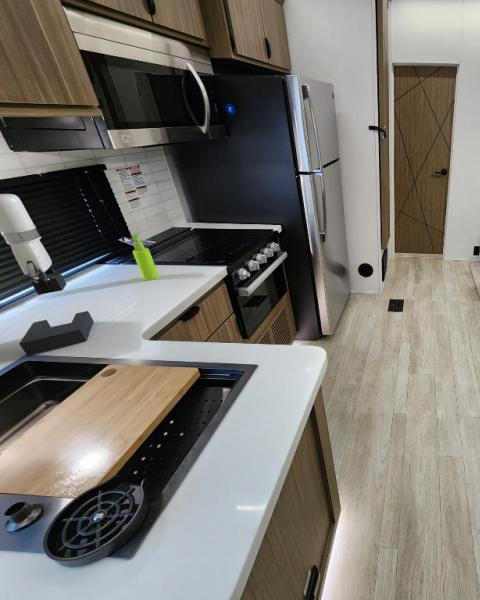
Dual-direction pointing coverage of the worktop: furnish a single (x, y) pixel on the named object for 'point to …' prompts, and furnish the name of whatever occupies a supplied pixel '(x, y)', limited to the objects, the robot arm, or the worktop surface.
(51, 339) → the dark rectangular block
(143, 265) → the soap dispenser
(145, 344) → the worktop surface
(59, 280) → the dark grey squat block
